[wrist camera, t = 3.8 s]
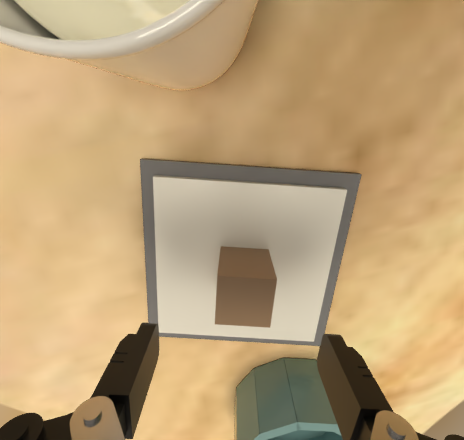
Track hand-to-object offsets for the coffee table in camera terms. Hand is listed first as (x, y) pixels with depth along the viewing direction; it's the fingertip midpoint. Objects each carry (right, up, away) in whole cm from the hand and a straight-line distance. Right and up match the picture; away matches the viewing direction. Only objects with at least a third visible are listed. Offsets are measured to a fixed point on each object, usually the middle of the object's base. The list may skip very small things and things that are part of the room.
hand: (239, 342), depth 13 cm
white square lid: (0, +2, +7) cm, 8 cm away
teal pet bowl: (+5, -12, +13) cm, 18 cm away
